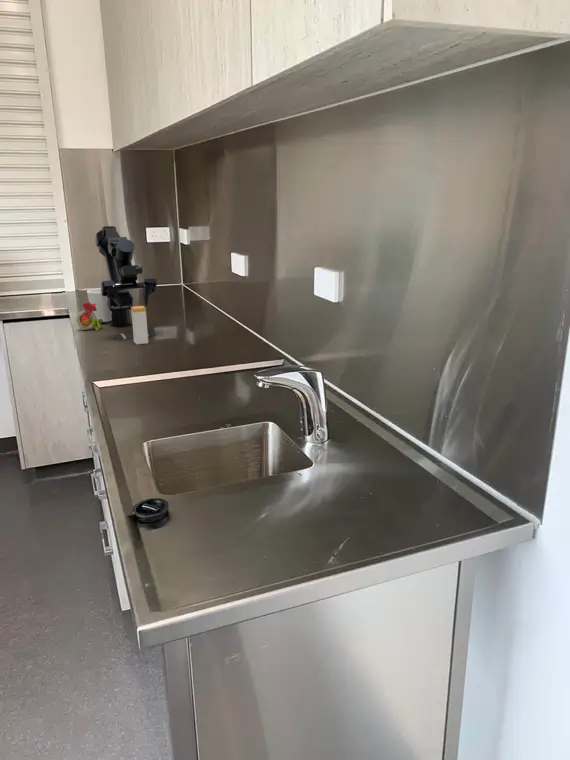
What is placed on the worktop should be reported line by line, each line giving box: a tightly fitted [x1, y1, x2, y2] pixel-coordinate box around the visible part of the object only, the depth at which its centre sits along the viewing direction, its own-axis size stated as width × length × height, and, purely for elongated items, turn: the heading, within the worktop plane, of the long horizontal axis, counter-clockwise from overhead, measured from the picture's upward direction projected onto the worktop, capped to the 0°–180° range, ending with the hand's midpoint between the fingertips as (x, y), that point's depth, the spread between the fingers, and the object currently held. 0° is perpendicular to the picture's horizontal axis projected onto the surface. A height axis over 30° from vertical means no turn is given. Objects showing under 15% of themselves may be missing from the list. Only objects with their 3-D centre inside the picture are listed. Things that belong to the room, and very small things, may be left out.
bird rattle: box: [76, 301, 104, 331], centre depth 222 cm, size 6×11×9 cm
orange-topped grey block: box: [130, 305, 149, 345], centre depth 201 cm, size 4×4×12 cm
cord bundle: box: [113, 330, 158, 341], centre depth 212 cm, size 15×5×2 cm, turn 116°
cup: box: [86, 287, 113, 324], centre depth 234 cm, size 10×10×13 cm
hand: (134, 307), depth 204 cm, fingers open, 8 cm apart
